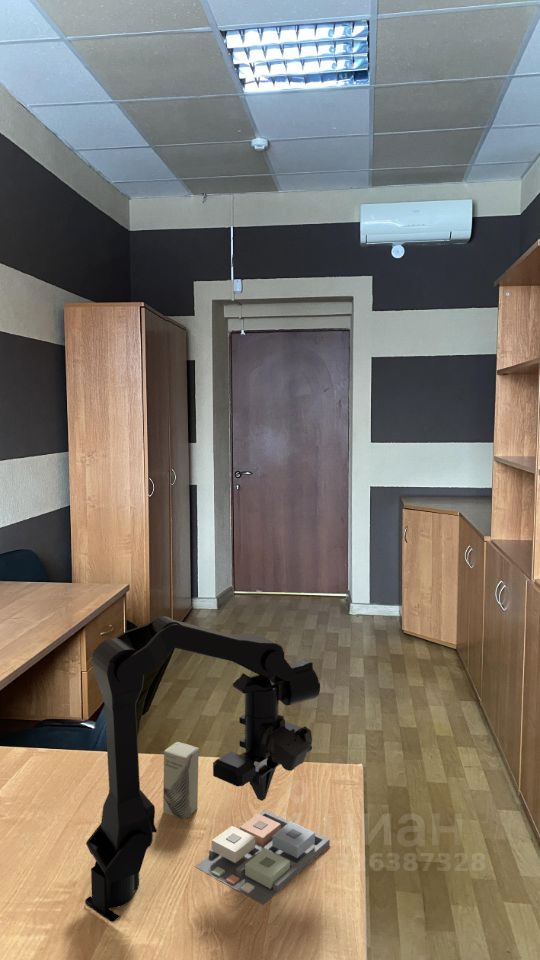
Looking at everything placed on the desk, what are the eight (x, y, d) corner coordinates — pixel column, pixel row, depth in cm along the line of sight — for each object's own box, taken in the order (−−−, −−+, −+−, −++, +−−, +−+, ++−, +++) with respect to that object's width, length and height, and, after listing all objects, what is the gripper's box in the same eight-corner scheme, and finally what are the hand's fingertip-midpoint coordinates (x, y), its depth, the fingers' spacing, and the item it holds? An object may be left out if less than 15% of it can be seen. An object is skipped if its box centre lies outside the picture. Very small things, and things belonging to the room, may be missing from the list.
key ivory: (235, 863, 109) (235, 851, 109) (211, 850, 112) (211, 839, 112) (255, 847, 113) (255, 836, 113) (232, 835, 116) (232, 825, 116)
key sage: (270, 888, 105) (270, 876, 105) (245, 875, 108) (245, 863, 108) (289, 871, 109) (289, 860, 109) (264, 859, 112) (264, 847, 112)
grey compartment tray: (263, 912, 102) (263, 898, 102) (194, 873, 111) (194, 860, 110) (329, 851, 116) (329, 839, 116) (264, 821, 125) (264, 809, 125)
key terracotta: (262, 848, 115) (262, 837, 114) (239, 836, 118) (239, 826, 117) (280, 833, 119) (280, 823, 118) (258, 823, 122) (258, 812, 121)
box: (162, 818, 126) (161, 750, 124) (176, 806, 129) (175, 740, 128) (186, 826, 123) (185, 757, 122) (199, 813, 127) (199, 746, 126)
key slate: (297, 858, 110) (297, 846, 110) (272, 846, 113) (272, 835, 113) (314, 842, 114) (314, 831, 114) (290, 831, 117) (290, 820, 117)
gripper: (265, 746, 104) (265, 844, 105) (332, 705, 119) (331, 791, 120) (210, 725, 111) (211, 818, 112) (280, 689, 125) (279, 771, 127)
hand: (261, 799), depth 118 cm, fingers closed
